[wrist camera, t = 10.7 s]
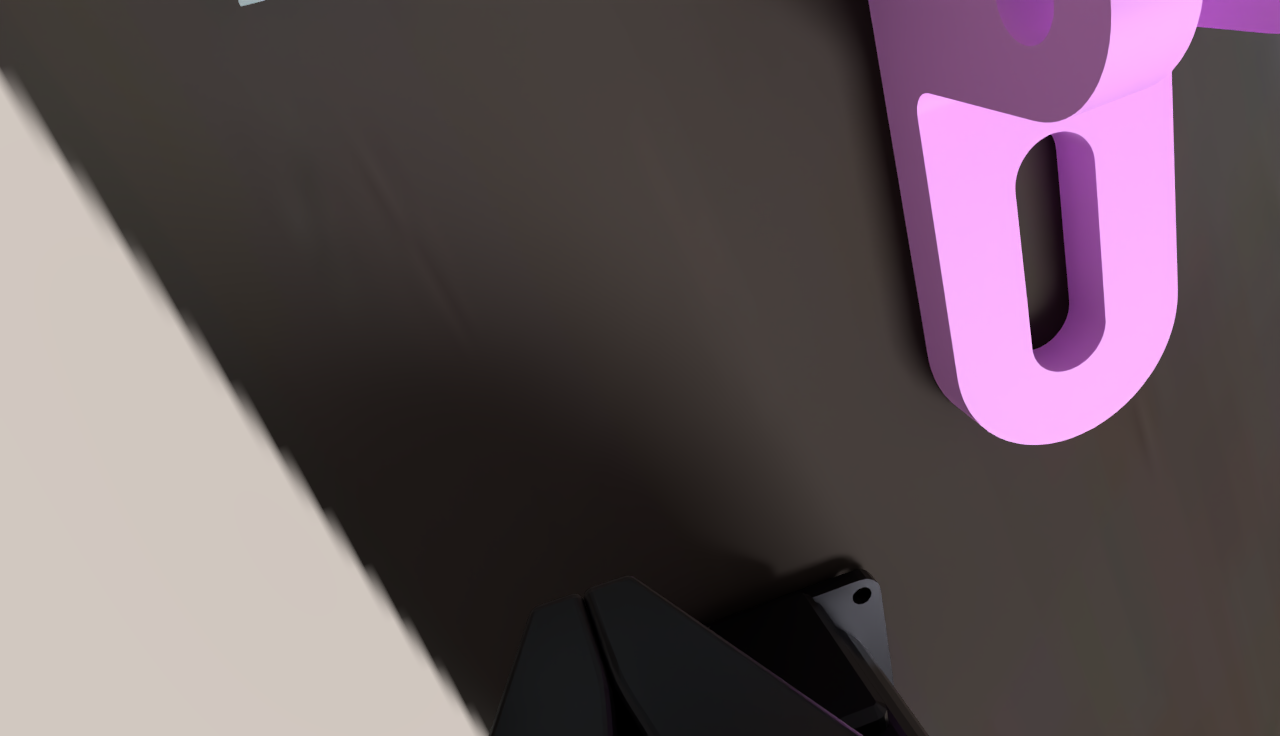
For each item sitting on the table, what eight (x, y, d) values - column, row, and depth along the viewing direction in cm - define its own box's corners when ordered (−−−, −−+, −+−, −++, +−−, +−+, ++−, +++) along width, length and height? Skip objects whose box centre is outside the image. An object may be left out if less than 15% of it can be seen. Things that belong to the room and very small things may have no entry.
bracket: (845, -118, 18) (1101, -153, 11) (1109, -209, 18) (1490, -288, 12) (941, 451, 23) (1145, 631, 17) (1139, 369, 24) (1403, 515, 18)
